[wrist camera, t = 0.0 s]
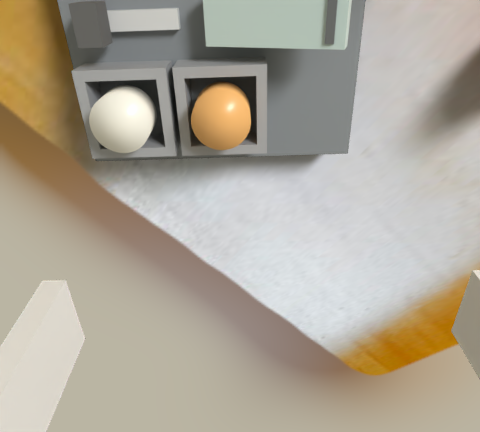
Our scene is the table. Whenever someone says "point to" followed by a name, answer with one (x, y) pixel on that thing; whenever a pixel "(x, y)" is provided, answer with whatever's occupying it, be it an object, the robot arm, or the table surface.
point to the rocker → (277, 23)
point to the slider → (91, 24)
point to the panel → (216, 70)
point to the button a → (123, 119)
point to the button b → (221, 116)
